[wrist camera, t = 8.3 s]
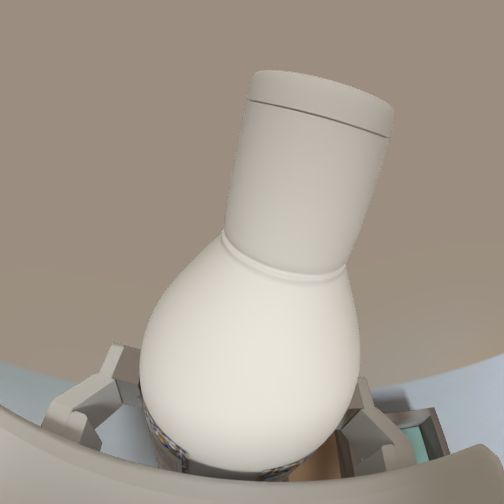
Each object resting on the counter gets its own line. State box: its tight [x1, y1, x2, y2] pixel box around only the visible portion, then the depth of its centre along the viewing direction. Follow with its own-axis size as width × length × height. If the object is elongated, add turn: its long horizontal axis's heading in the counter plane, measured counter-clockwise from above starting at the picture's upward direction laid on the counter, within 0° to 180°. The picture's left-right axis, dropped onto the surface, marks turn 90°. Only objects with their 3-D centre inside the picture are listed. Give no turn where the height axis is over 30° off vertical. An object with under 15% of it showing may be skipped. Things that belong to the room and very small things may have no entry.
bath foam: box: [139, 70, 395, 482], centre depth 10 cm, size 7×7×20 cm
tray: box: [282, 407, 450, 482], centre depth 19 cm, size 18×12×4 cm, turn 88°
